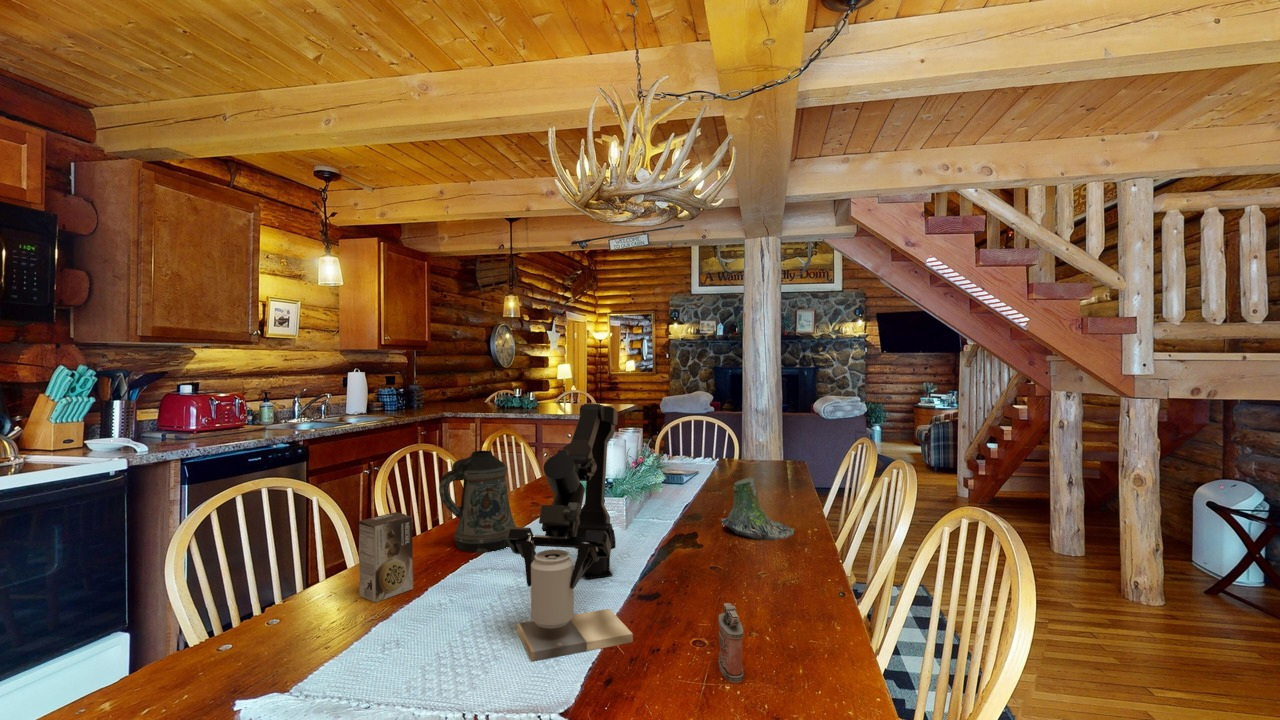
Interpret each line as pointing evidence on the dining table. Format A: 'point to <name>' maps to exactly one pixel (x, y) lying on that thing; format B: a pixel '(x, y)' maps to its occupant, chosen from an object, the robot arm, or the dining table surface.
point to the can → (552, 589)
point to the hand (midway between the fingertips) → (550, 586)
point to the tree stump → (753, 515)
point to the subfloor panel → (574, 635)
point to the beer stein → (479, 503)
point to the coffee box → (385, 556)
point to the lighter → (730, 644)
